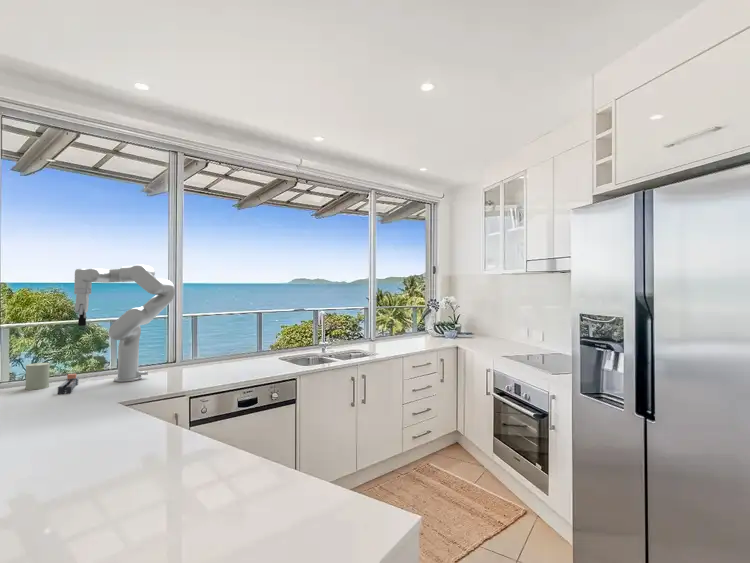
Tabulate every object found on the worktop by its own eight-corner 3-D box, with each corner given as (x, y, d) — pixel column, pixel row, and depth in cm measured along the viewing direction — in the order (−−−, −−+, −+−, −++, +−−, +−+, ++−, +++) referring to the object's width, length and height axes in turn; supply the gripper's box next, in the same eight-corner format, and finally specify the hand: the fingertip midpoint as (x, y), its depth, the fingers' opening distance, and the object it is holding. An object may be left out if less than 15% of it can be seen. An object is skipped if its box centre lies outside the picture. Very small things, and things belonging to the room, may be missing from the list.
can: (20, 390, 194) (21, 365, 194) (31, 386, 203) (32, 362, 203) (43, 389, 196) (44, 364, 197) (53, 385, 205) (53, 361, 205)
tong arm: (66, 385, 202) (67, 379, 202) (71, 385, 203) (71, 379, 203) (57, 393, 186) (58, 387, 186) (62, 393, 187) (62, 386, 187)
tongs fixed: (67, 384, 206) (67, 377, 206) (78, 383, 209) (78, 376, 209) (59, 394, 186) (59, 387, 186) (71, 393, 188) (71, 385, 188)
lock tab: (68, 378, 204) (68, 374, 204) (76, 377, 206) (76, 373, 206) (67, 379, 202) (67, 375, 202) (75, 378, 204) (75, 374, 204)
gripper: (76, 291, 224) (75, 324, 223) (72, 291, 211) (71, 326, 210) (92, 291, 228) (92, 324, 227) (89, 291, 215) (88, 326, 214)
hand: (82, 325), depth 219 cm, fingers closed
